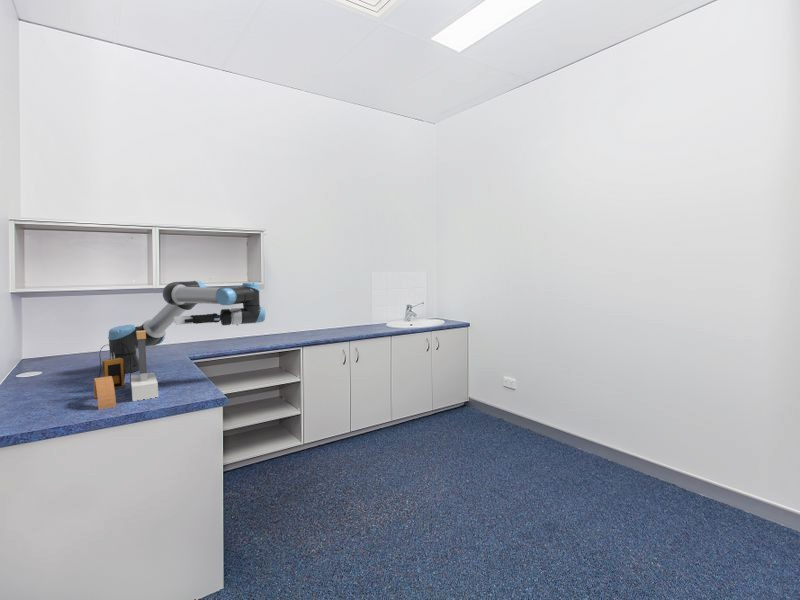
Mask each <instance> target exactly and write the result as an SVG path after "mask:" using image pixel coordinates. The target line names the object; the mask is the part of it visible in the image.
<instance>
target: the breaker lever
mask: <svg viewBox="0 0 800 600" xmlns="http://www.w3.org/2000/svg"><path fill="white" fill-rule="evenodd" d="M136 333H137V339H138V348H137V349H138V359H139V368H140V370H139V374H142V373H148V367H147V352H146V351H147V350H146V348H147V347H145V339H146V331H145V330H143V331H136Z"/></svg>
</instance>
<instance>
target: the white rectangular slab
mask: <svg viewBox="0 0 800 600" xmlns="http://www.w3.org/2000/svg"><path fill="white" fill-rule="evenodd" d="M130 386H131V399H132V402H138V401H137V400H139V401H143V399H145V400H151V399H150V398H152V399H156V398H155V397H158V398H159V384H158V379H157V376H156V374H155V372H149V373H148V372H147V373H142V374H140V373H139V374H131V384H130Z"/></svg>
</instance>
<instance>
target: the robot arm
mask: <svg viewBox="0 0 800 600" xmlns="http://www.w3.org/2000/svg"><path fill="white" fill-rule="evenodd" d="M241 285H242V286H240V287H207V286H206V284H205V283H204V282H202V281H198V280H192V281H173V282H169V283H167V284H166V286H165V287H163V289H162V298H163V299H164V301H165V302H166V303H167V304H166V305H165V306H163V308H161V310H160V311H158V313H156V315H155V316H153V317H152V319H146V320H145V321H144V323H143V324H141V325H138V326H135V325H134V324H124V325H117V326H115V327H112V328H110V329H109V330H108V338H107V339H108V348H109V357H110V356H111V354H112V359H113V347H114V346H115V345H116V344H118V345H116V346H115V347H114V356H115V359H116V358H122V359H123V364H124V367H125V374H130V358H131V373H134V372H138V371H140V368H139V356H138V355H137V349H138V339H137V333H136V331H143V330H145V331H146V339H145V347H146V348H148V347H154V346H157V345H159V344H162V342H164V340H165V338H166V337H165V336H166V330H167V328H169V327H170V326H171V325H172V324H175V325H189V324H196V325H197V324H208V323H210V324H211V323H220V324H221V325H222V326H230V325H235V326H239V325H245V324H246V325H247V324H256V323H257V324H259V323H263V322H265V320H266V310H265V308H264V307H263V306H260V302H261V301H260V287H259V283H258V282H243V283H242V284H241ZM198 304H211V305H212V304H213V305H214V304H215V305H220V306H233V305H238V304H239V305H240V304H242V307H235V308H230V309H229V308H222V309H221V310H220V314H218V313H216V312H213V313H206V314H191V315H183V313H184V312H186V311H190V310H192V309H193V308H195V306H196V305H198ZM181 315H183V316H181ZM119 343H123V344H119ZM124 344H125V345H126V346H127V347H126V346H125V345H124ZM109 345H110V346H111V351H110V346H109ZM127 348H128V349H127ZM128 350H129V352H128ZM110 353H111V354H110ZM129 353H130V356H129Z"/></svg>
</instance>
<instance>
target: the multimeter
mask: <svg viewBox="0 0 800 600" xmlns="http://www.w3.org/2000/svg"><path fill="white" fill-rule="evenodd" d="M119 344H123V343H119ZM116 345H118V344H116ZM116 345H115V346H116ZM124 345H125V344H124ZM106 346H107V344H106V345H103V346H102V347H101V348H100V349H99V356H101V352H102V349H103V348H104V347H106ZM109 346H110V345H109V344H108V347H109ZM115 346H114V347H115ZM125 346H126V345H125ZM114 347H113V359H112V354H111V353H110V351H111V346H110V349H109V359H103V360H102V361H101V358H99V362H100V364H99V365H100V368H99V373H98V378H101V371H102V377H108V376H112V379H113V383H114V390H115V389H119V388H125V385H131V375H132V372H131V358H130V373H129V374H130V375H129V382H125V378H126V373H125V367H124V364H123V359H122V358H116V359H115V356H114ZM126 347H127V346H126ZM127 349H128V348H127ZM128 352H129V350H128ZM110 354H111V356H110ZM129 356H130V353H129Z"/></svg>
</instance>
